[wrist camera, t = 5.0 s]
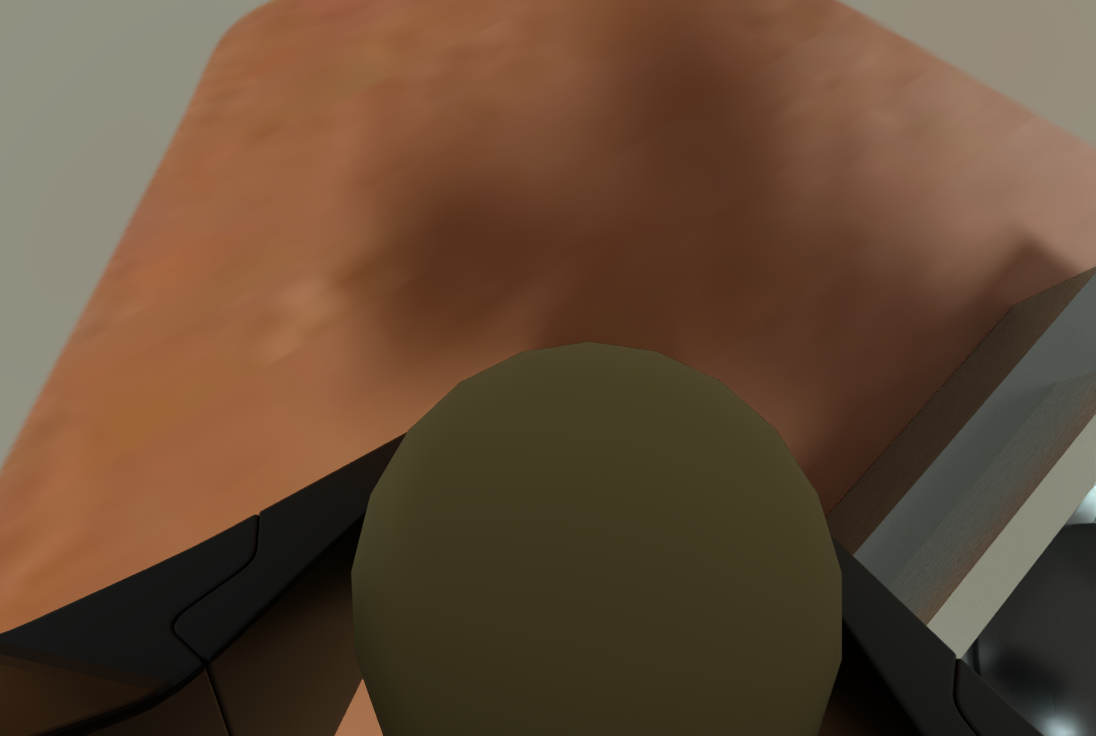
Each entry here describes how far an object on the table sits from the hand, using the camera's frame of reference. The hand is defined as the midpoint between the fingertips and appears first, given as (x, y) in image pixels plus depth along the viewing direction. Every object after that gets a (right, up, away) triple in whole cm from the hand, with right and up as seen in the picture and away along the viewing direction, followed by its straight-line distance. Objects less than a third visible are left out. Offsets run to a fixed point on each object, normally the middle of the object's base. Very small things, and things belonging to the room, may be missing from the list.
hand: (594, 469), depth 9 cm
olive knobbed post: (0, -3, +6) cm, 7 cm away
